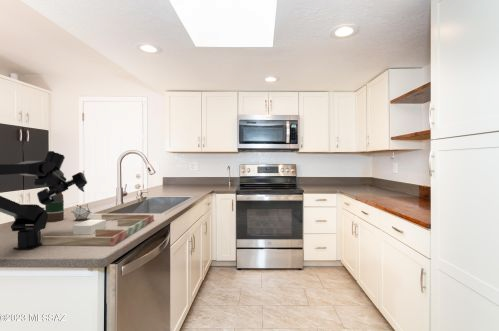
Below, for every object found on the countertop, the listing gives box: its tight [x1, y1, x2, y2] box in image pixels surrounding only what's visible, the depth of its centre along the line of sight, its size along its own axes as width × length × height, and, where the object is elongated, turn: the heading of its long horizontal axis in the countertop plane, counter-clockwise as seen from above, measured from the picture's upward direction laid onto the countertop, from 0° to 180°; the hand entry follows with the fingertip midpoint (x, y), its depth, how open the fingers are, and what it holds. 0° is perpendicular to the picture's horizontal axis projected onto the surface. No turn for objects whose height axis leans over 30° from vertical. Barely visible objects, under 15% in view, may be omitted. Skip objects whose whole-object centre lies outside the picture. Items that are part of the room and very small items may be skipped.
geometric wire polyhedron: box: [71, 203, 92, 221], centre depth 140 cm, size 9×8×10 cm
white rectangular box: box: [72, 219, 107, 235], centre depth 120 cm, size 11×8×4 cm
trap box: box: [41, 213, 155, 247], centre depth 120 cm, size 40×27×3 cm
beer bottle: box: [44, 189, 65, 223], centre depth 138 cm, size 8×8×24 cm
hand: (73, 195), depth 122 cm, fingers open, 9 cm apart
